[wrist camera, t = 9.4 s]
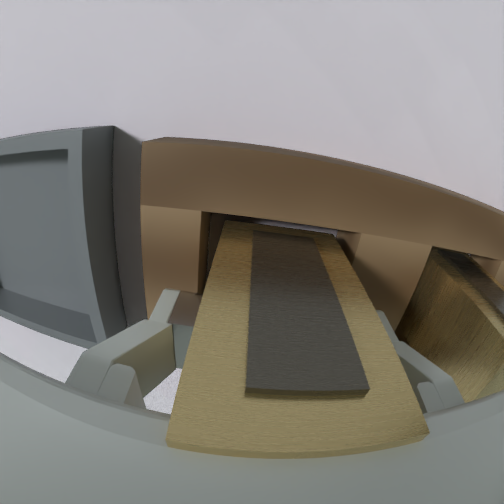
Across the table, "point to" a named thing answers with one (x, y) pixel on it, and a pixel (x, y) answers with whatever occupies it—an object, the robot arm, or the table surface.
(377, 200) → the pallet
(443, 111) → the table surface
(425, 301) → the block
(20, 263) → the shallow grey tray
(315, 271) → the block
